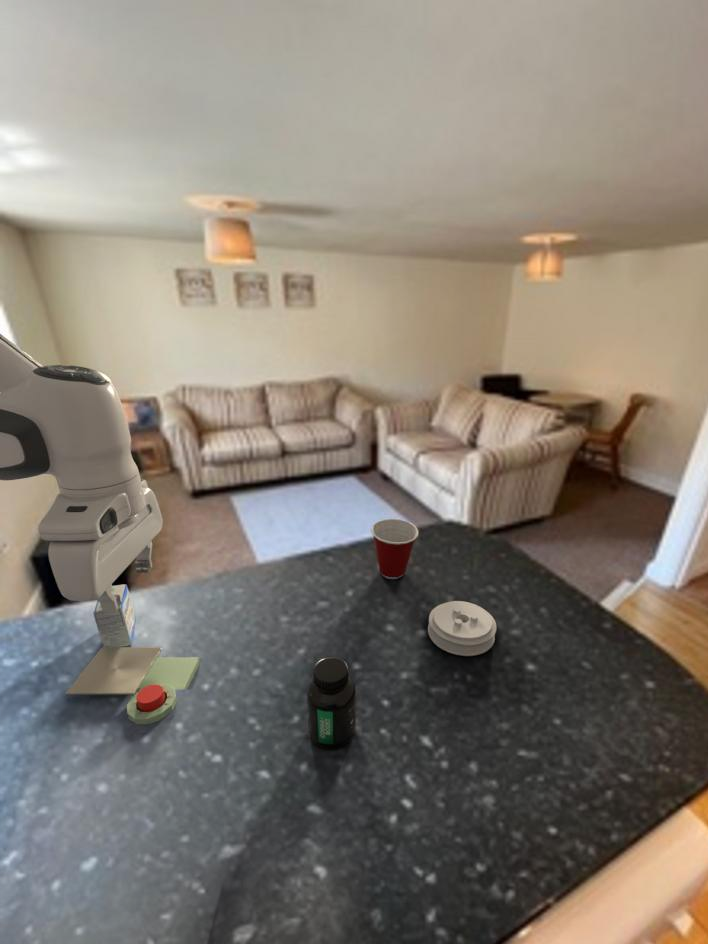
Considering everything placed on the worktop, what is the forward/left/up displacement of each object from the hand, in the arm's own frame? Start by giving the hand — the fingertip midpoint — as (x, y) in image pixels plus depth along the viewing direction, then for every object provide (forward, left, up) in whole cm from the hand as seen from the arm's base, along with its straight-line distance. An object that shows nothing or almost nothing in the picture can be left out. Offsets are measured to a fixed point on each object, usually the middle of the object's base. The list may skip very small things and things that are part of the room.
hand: (130, 588), depth 63 cm
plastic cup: (+40, +36, -20) cm, 57 cm away
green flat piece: (-3, 0, -20) cm, 20 cm away
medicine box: (-12, +14, -20) cm, 27 cm away
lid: (+52, +14, -20) cm, 57 cm away
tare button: (+2, -4, -17) cm, 18 cm away
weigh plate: (-6, +2, -17) cm, 18 cm away
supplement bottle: (+29, -7, -20) cm, 36 cm away
